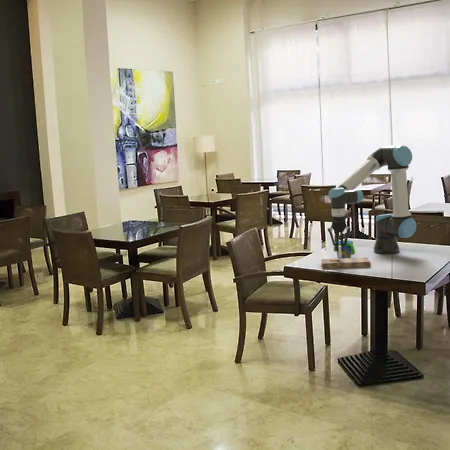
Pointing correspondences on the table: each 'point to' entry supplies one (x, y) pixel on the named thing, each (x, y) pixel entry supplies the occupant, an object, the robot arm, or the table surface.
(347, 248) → the snack cup
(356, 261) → the light wood flat slab
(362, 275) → the table surface
